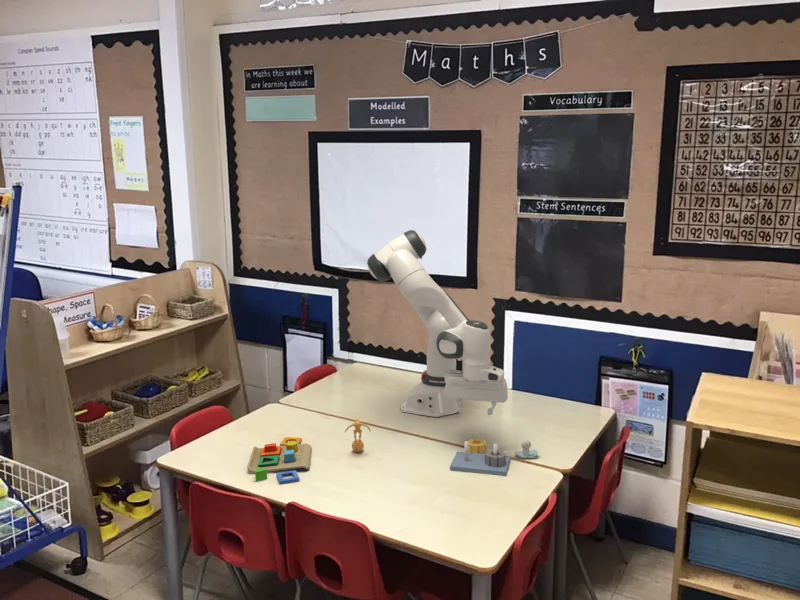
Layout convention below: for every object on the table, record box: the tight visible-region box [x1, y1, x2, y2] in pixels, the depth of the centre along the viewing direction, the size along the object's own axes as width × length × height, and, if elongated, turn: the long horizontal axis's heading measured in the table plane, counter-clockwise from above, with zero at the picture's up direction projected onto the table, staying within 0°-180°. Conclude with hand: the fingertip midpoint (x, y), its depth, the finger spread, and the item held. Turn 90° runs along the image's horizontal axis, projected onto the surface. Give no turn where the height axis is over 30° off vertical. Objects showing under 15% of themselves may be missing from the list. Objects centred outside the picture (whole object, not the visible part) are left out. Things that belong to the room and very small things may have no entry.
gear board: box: [449, 440, 511, 477], centre depth 219 cm, size 17×12×7 cm
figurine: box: [344, 418, 371, 453], centre depth 228 cm, size 8×6×12 cm
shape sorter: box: [246, 436, 313, 485], centre depth 223 cm, size 34×19×5 cm, turn 4°
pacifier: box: [513, 439, 539, 459], centre depth 225 cm, size 7×6×6 cm
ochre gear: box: [467, 438, 487, 454], centre depth 230 cm, size 6×6×3 cm
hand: (475, 413), depth 228 cm, fingers open, 8 cm apart
